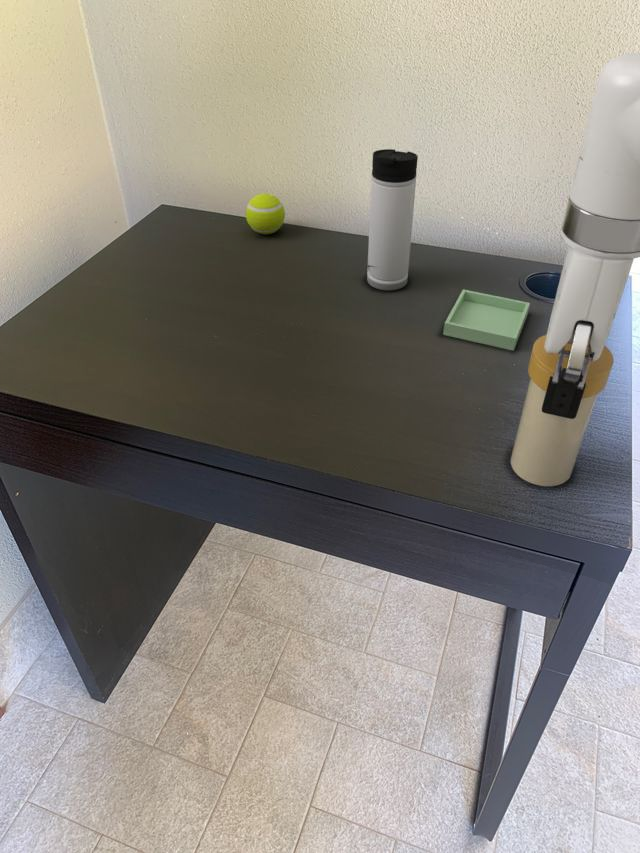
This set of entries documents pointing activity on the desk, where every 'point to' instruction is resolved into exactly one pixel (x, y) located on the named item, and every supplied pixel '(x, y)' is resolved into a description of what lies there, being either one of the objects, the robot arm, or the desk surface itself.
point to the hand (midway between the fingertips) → (563, 388)
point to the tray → (487, 319)
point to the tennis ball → (265, 213)
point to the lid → (546, 363)
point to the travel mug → (391, 218)
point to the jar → (548, 440)
